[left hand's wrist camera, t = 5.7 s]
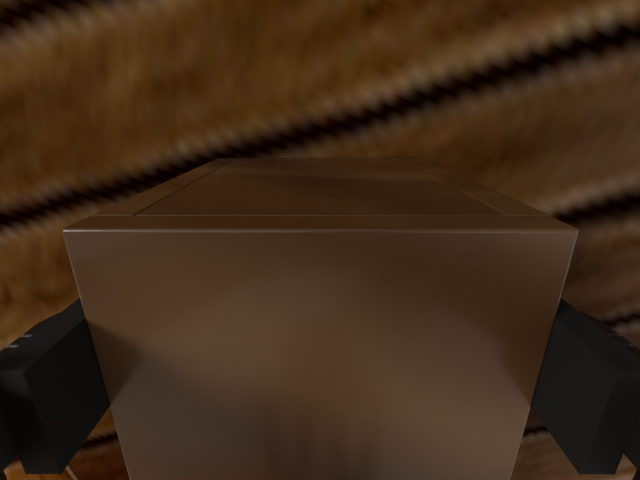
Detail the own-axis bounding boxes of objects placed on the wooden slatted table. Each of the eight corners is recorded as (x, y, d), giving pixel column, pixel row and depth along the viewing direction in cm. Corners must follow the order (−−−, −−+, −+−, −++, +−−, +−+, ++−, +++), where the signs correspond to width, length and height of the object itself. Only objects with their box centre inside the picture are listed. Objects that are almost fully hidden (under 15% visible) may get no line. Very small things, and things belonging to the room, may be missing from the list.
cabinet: (398, 403, 25) (464, 650, 13) (241, 403, 25) (175, 650, 13) (423, 157, 19) (581, 229, 7) (217, 157, 19) (58, 228, 7)
